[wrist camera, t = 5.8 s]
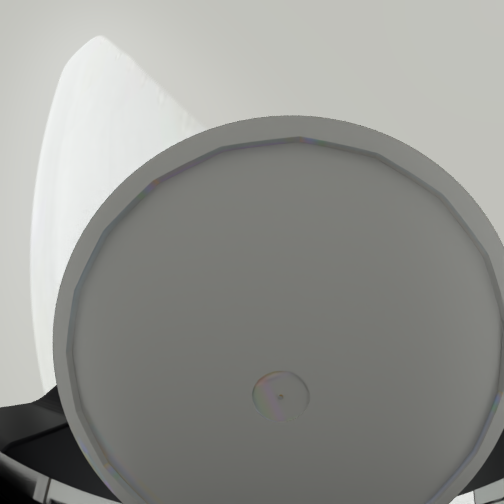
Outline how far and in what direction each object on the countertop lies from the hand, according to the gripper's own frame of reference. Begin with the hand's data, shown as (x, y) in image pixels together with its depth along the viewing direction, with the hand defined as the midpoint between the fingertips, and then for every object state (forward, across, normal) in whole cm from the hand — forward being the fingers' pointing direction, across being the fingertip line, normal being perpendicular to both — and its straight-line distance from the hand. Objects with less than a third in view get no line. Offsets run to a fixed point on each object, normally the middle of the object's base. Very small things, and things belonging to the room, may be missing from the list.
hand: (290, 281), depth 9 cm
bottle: (+5, 0, +7) cm, 9 cm away
